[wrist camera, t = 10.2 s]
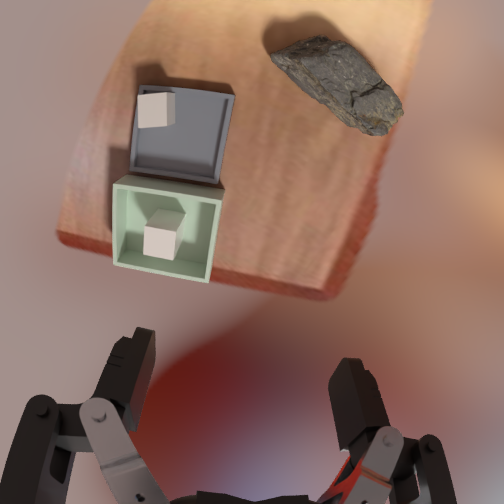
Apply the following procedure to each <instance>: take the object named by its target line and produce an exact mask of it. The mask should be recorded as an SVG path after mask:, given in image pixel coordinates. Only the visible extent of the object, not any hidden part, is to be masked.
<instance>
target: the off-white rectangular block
mask: <svg viewBox="0 0 504 504" xmlns="http://www.w3.org/2000/svg"><path fill="white" fill-rule="evenodd" d="M185 217H186V213H182V212H176V211H171V210H165V209H159V208H158V209H157V210H156V212H155V213H154V214H153V216H152V217H151V218H150V219H149V221H148V222H147V223H146V225H145V227H144V247H143V255H148V256H153V257H158V258H163V259H168V260H174V258H175V255H176V253H177V251H178V249H179V246H180V244H181V242H182V240H183V233H184V225H185Z"/></svg>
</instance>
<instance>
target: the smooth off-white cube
mask: <svg viewBox="0 0 504 504" xmlns="http://www.w3.org/2000/svg"><path fill="white" fill-rule="evenodd" d="M172 124H175V93H169V92H164V93H154V94H145V95H138V128H149V127H162V126H169V125H172Z"/></svg>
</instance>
